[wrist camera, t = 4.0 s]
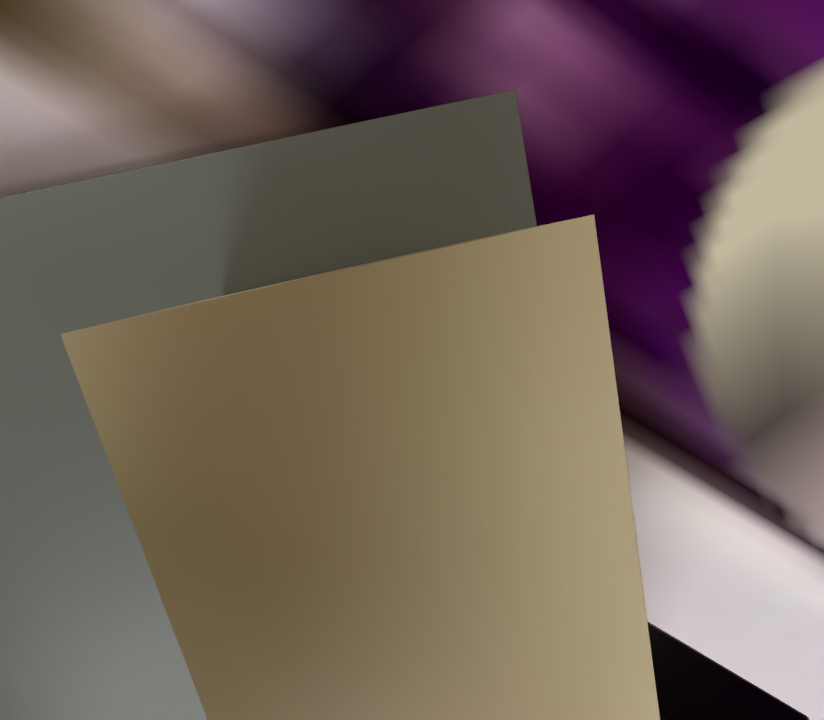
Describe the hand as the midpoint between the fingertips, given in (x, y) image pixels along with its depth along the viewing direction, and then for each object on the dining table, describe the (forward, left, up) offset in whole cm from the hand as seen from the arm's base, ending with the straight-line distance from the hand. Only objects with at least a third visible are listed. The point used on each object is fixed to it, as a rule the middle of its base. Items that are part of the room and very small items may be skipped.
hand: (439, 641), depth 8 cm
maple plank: (0, 0, -1) cm, 1 cm away
